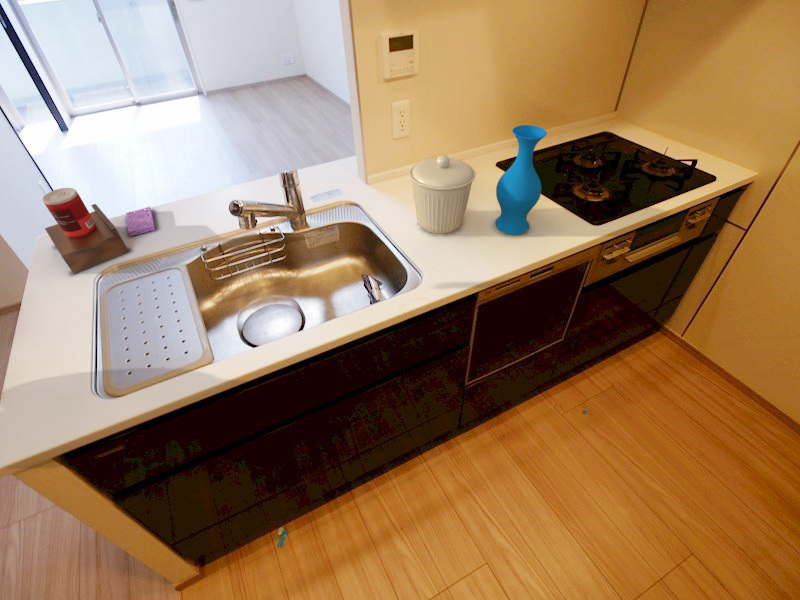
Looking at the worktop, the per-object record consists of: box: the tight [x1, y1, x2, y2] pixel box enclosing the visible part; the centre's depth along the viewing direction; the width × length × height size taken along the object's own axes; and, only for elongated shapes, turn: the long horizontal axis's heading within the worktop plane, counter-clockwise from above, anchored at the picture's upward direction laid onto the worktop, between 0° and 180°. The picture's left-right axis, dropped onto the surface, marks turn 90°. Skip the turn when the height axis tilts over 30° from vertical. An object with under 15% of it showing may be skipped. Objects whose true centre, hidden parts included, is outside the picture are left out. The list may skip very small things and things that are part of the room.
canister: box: [408, 154, 477, 235], centre depth 120 cm, size 18×18×21 cm
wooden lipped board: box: [44, 203, 130, 275], centre depth 118 cm, size 14×18×8 cm
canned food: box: [42, 187, 96, 238], centre depth 113 cm, size 8×8×11 cm
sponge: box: [125, 206, 156, 237], centre depth 129 cm, size 7×13×2 cm, turn 28°
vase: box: [494, 124, 548, 236], centre depth 116 cm, size 12×13×28 cm
